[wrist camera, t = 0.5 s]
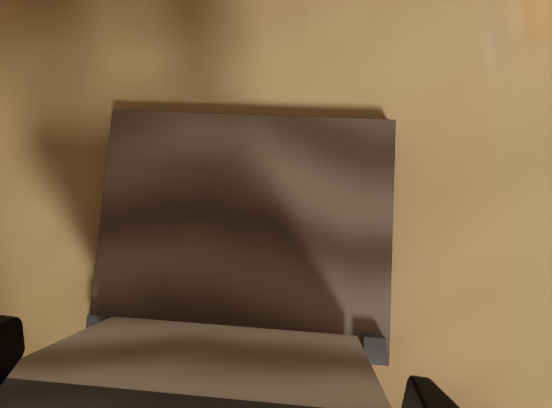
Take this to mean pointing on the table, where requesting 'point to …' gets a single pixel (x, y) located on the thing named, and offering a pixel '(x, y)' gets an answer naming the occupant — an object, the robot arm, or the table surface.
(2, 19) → the table surface
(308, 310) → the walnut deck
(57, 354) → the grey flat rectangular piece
